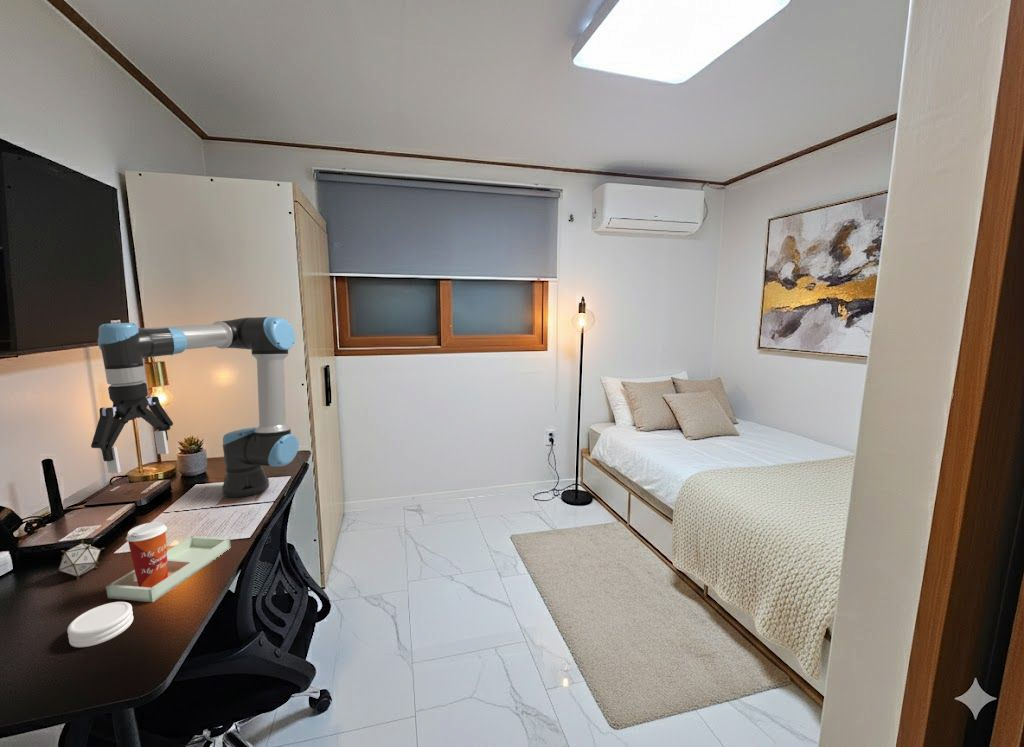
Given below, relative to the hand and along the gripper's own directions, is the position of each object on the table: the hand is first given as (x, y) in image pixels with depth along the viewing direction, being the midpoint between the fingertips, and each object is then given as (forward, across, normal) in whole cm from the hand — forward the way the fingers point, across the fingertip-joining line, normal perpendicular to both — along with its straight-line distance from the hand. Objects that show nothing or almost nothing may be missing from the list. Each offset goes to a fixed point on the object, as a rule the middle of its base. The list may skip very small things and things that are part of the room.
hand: (140, 462), depth 116 cm
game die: (+27, +9, -12) cm, 31 cm away
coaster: (+27, +27, +15) cm, 41 cm away
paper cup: (+26, +12, +11) cm, 31 cm away
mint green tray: (+27, +6, +11) cm, 30 cm away
